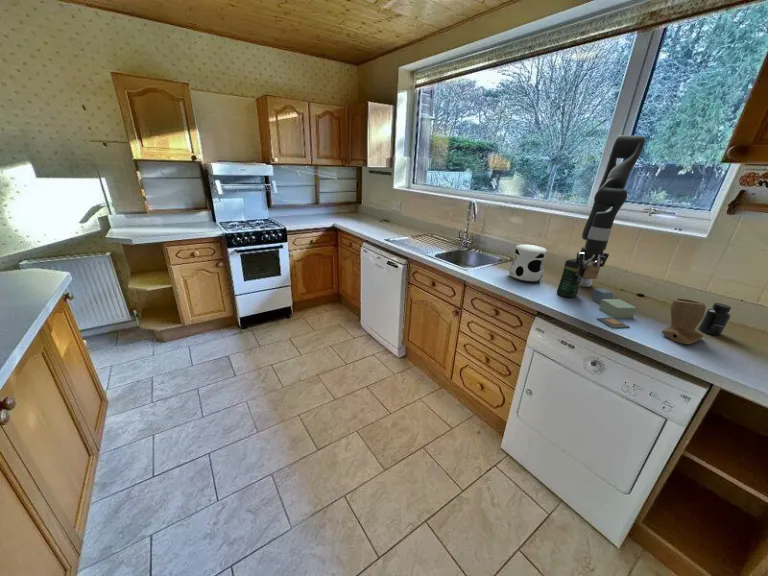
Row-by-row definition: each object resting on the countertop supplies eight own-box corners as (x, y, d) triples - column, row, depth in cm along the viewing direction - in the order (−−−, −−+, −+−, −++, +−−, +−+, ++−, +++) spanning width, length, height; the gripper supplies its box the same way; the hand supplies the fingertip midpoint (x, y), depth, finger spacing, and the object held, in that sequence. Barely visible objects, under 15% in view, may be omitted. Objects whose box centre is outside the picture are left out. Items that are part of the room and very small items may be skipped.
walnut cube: (576, 274, 142) (579, 263, 140) (587, 274, 143) (590, 263, 141) (585, 279, 137) (589, 267, 135) (596, 278, 138) (600, 266, 136)
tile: (596, 319, 135) (597, 317, 134) (612, 318, 136) (613, 316, 136) (612, 328, 127) (613, 326, 127) (629, 327, 129) (630, 325, 128)
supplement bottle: (713, 337, 125) (727, 309, 120) (693, 328, 131) (706, 302, 126) (725, 335, 127) (739, 308, 122) (705, 327, 133) (717, 300, 128)
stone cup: (669, 326, 132) (683, 292, 126) (705, 340, 122) (723, 304, 117) (650, 333, 125) (664, 298, 120) (687, 348, 116) (704, 311, 110)
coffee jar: (569, 299, 154) (580, 262, 147) (553, 293, 160) (563, 258, 153) (579, 295, 159) (590, 260, 152) (563, 290, 165) (573, 255, 158)
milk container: (503, 273, 187) (509, 243, 180) (533, 274, 187) (540, 244, 180) (513, 283, 171) (521, 251, 164) (546, 285, 171) (554, 253, 164)
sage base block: (598, 309, 145) (601, 299, 143) (615, 309, 146) (619, 299, 145) (614, 318, 137) (617, 307, 135) (632, 318, 138) (636, 307, 136)
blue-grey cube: (590, 298, 156) (593, 288, 154) (600, 298, 157) (603, 288, 155) (599, 303, 151) (603, 292, 149) (609, 303, 152) (613, 292, 150)
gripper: (605, 236, 138) (594, 272, 145) (576, 235, 136) (566, 273, 142) (620, 240, 131) (607, 278, 138) (589, 239, 129) (578, 279, 135)
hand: (586, 275), depth 140 cm, fingers closed on walnut cube, 5 cm apart
